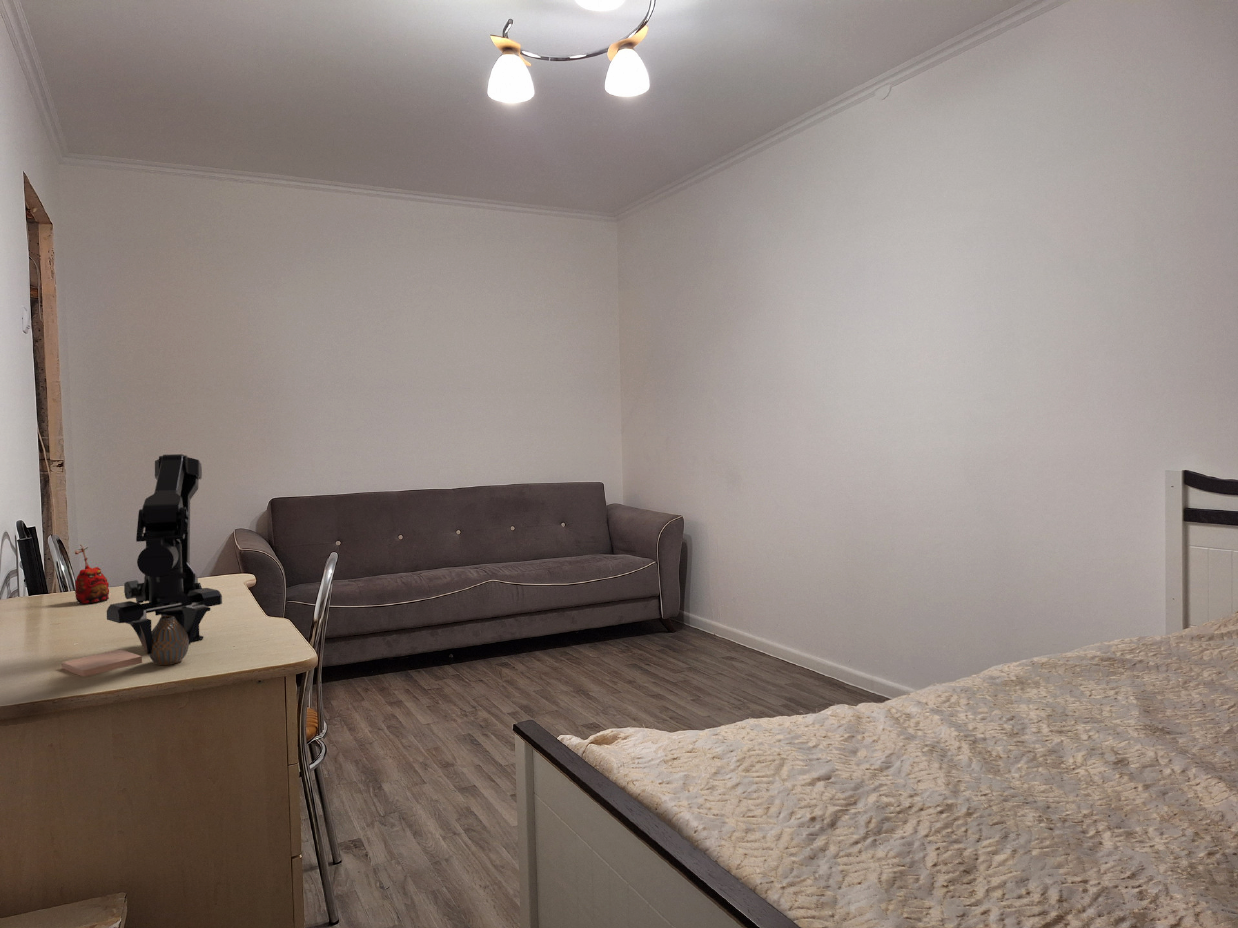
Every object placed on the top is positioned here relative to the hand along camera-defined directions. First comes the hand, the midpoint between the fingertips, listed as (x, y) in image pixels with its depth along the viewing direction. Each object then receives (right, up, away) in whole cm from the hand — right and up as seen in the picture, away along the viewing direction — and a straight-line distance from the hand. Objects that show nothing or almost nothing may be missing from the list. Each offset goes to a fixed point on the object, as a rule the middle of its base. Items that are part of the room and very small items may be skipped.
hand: (168, 649), depth 151 cm
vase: (0, -3, 0) cm, 3 cm away
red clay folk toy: (-51, -1, +55) cm, 75 cm away
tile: (-15, -2, +1) cm, 16 cm away
